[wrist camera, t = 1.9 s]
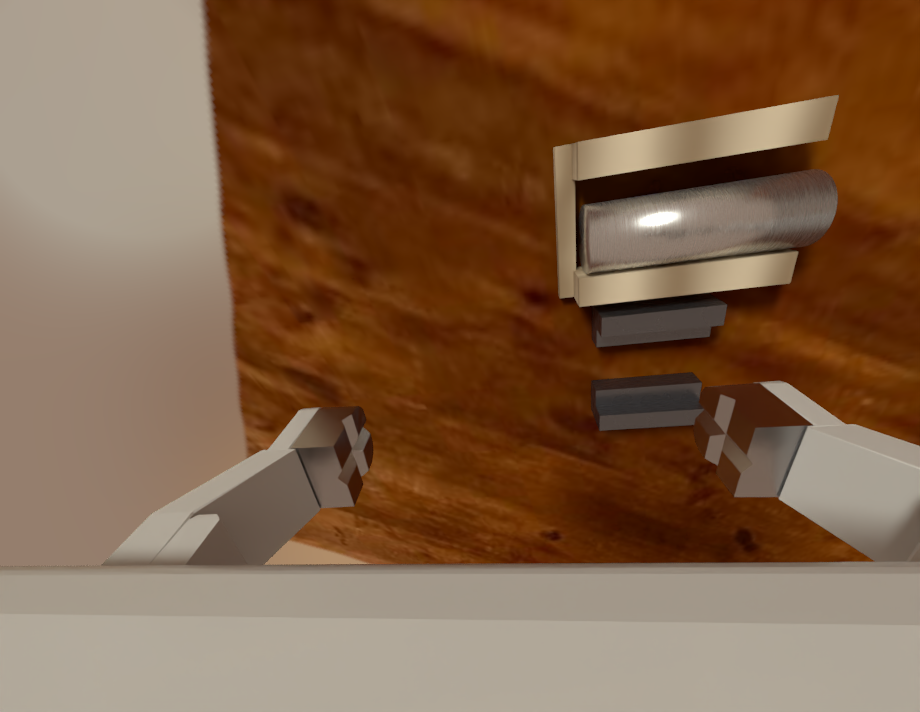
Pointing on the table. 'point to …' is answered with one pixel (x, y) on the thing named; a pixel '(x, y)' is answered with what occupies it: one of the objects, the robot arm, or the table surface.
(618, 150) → the beige u-shaped bracket
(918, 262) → the table surface
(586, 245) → the axle
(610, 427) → the dark blocks
